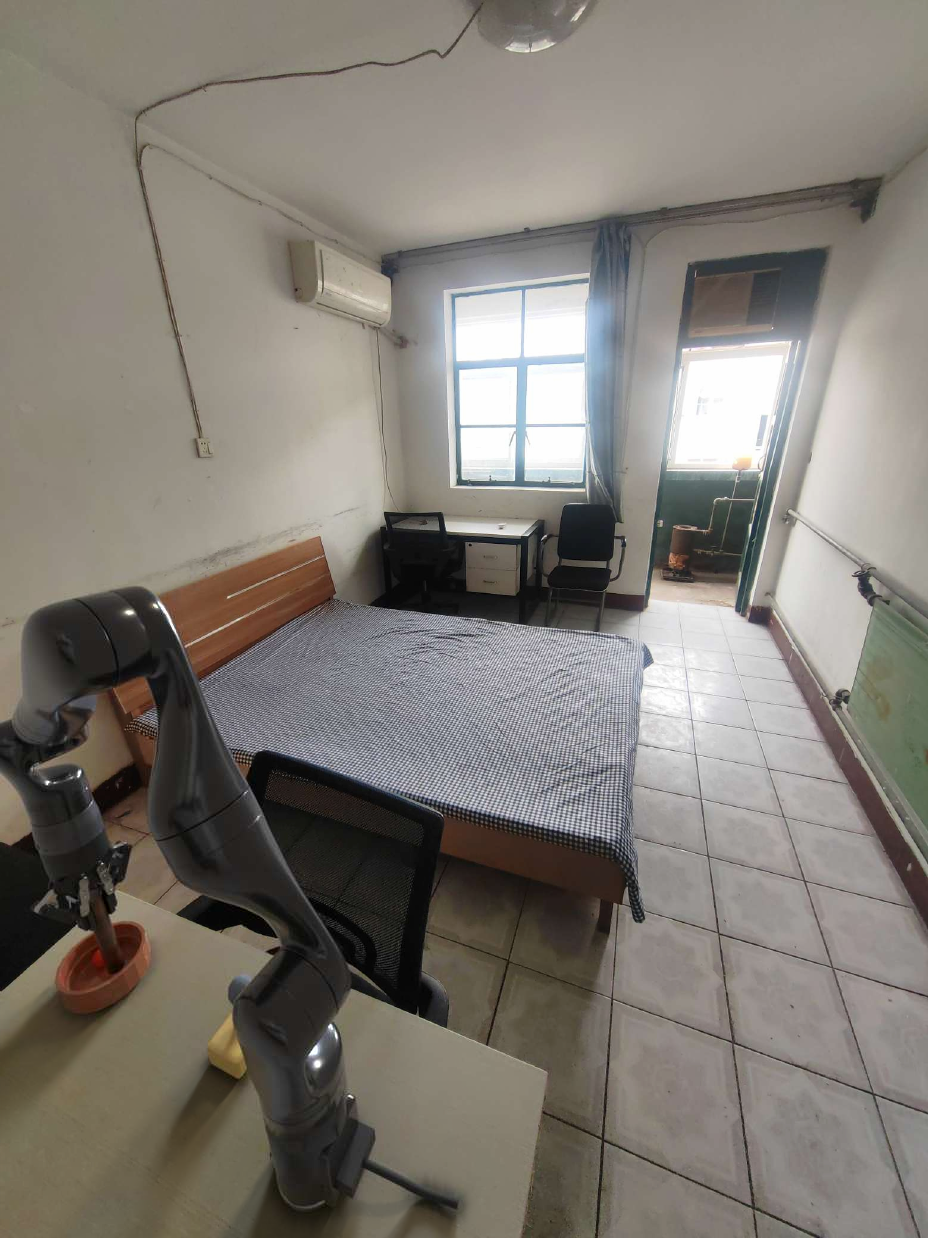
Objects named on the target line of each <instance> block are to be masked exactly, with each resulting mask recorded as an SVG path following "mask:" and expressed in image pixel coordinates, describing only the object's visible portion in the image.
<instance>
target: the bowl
mask: <svg viewBox="0 0 928 1238" xmlns="http://www.w3.org/2000/svg"><path fill="white" fill-rule="evenodd" d="M112 925H113V928H114V931H115V934H116V937H117V940H118V943H119V946H120V949H121V952H122V955H123V958H124V961H125V965H124V967H123V968H122V970H121V971H119V972H118V973H116V974H113V975H110V974H108V973H107V970H106V967H102V968H97V967H95V966H94V965H93V964H92V958H93V955H94V954H95V952H96V951H97V950H98V949H99V948H98V945H97V942H96V939H95V936H94V933H93V931H91V933H89V934H88V935H86V936H84V937H83V938H82V939H80V941H78V943H76V944H75V945H74V946H73V947H72V948H70V950H69V951H68V952H67V953H66V955H65V956H63V958H62V959H61V962H60V963H59V965H58V967H57V969H56V972H55V979H54V984H55V986H56V988H57V992H58V993H59V996H60V998H61V1000H62V1003H63V1005H64V1008H65V1009H66V1010H67V1011H69V1012H71V1013H72V1014H82V1015H83V1014H91V1013H94V1012H98V1011H102V1010H103V1009H106V1008H108V1007H109V1006H111V1005H113V1004H115V1003H117V1002H118V1001H119V1000H120V999H122V998H123V997H125V996H126V995H127V994H128V993H130V992H131V991H132V989H134V987H136V986H137V984H139V982H140V981H141V980H142V978H143V977H144V975H145V974H146V973H147V971H148V969H149V966H150V963H151V959H152V948H151V945H150V942H149V938H148V935H147V931H146V930H145V928H144V926H143V925H142V924H141V923H138V922H136V921H133V920H121V921H117V922H112Z"/></svg>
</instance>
